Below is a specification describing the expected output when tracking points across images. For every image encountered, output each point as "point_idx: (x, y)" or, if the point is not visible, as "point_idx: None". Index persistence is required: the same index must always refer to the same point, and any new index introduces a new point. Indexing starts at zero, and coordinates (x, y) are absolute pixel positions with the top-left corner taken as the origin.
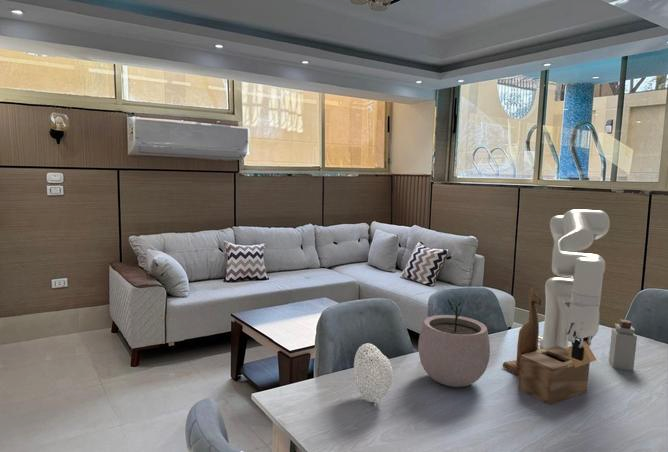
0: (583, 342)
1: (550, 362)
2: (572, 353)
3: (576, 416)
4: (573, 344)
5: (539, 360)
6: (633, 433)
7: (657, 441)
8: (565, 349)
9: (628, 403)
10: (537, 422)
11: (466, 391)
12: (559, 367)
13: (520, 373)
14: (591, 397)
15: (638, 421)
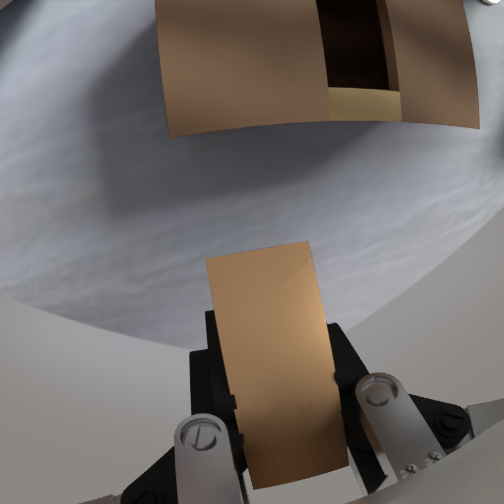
0: (293, 475)
1: (246, 54)
2: (208, 337)
3: (210, 220)
4: (171, 455)
5: (198, 10)
6: None
7: None
8: (207, 260)
9: (419, 214)
10: (62, 216)
11: (3, 16)
12: (242, 127)
13: None
14: (370, 148)
15: (353, 286)
